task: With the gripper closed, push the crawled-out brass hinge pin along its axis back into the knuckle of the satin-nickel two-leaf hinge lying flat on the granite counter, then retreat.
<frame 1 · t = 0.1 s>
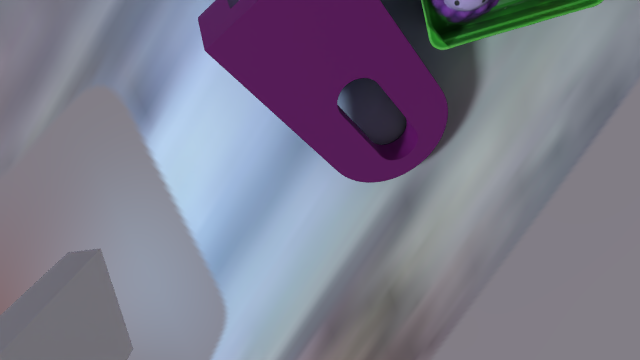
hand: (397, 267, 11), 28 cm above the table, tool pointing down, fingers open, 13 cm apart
mounting bracket: (341, 69, 37), on the table
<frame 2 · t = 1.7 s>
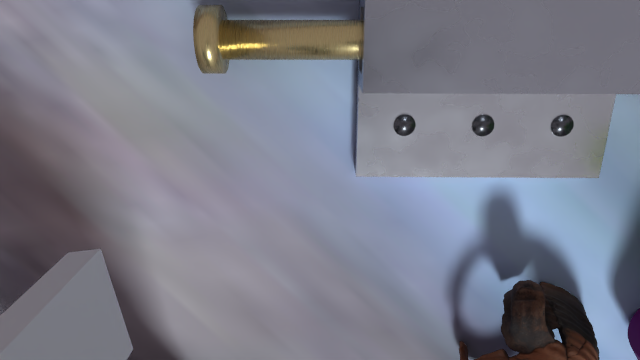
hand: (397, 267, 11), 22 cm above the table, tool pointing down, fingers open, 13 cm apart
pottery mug: (515, 319, 37), on the table
hinge: (486, 37, 30), on the table
pin: (355, 40, 28), point 2 cm above the table, slide at 7.0 cm
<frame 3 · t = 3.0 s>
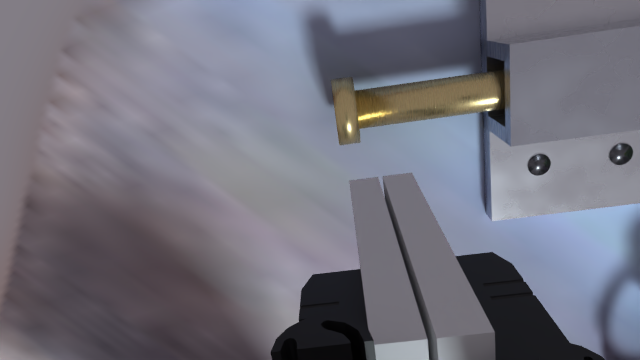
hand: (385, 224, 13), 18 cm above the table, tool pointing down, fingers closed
hinge: (614, 65, 29), on the table
pin: (489, 91, 27), point 3 cm above the table, slide at 7.0 cm
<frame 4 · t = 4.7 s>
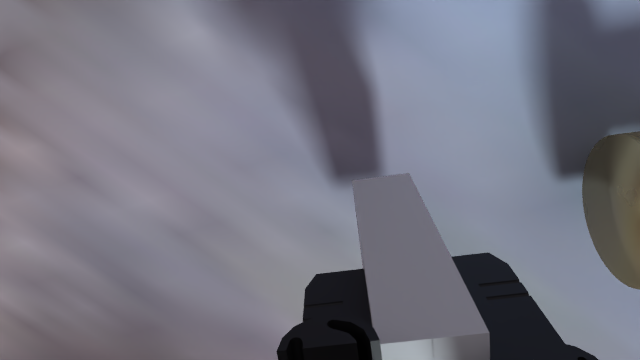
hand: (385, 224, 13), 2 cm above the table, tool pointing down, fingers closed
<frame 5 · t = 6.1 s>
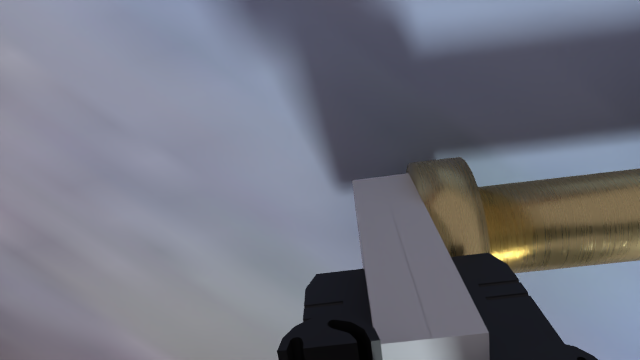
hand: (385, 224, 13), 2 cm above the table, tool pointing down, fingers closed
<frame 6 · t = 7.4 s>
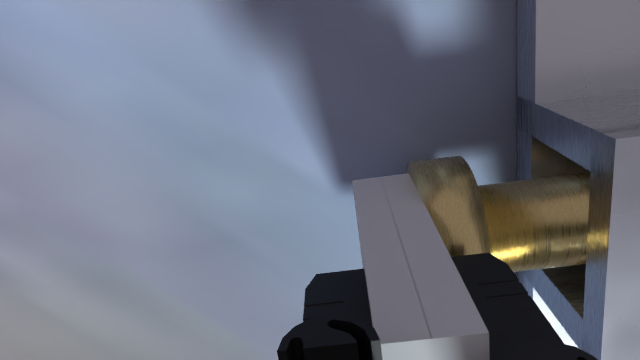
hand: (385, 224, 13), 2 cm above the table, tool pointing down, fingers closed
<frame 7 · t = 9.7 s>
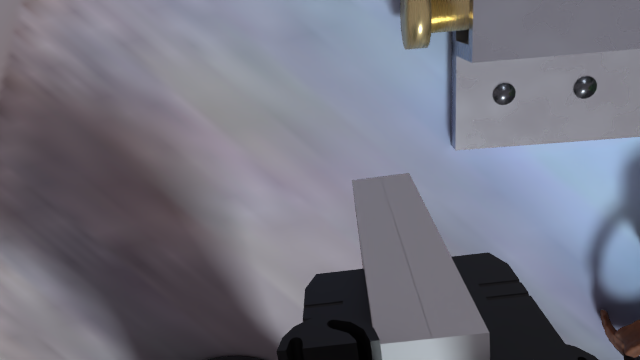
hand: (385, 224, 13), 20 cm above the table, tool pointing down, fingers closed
pin: (561, 1, 27), point 2 cm above the table, slide at 1.1 cm
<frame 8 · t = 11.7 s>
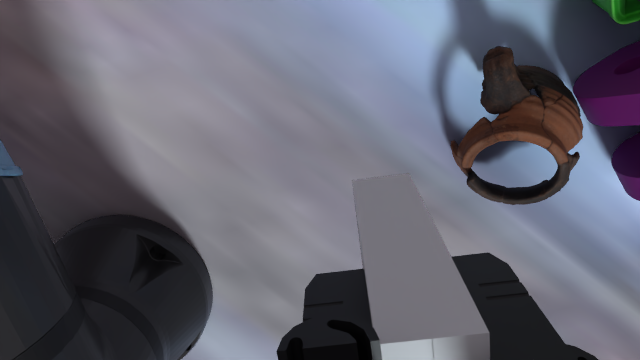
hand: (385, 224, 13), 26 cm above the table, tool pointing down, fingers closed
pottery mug: (501, 112, 39), on the table
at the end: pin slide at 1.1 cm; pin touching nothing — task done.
